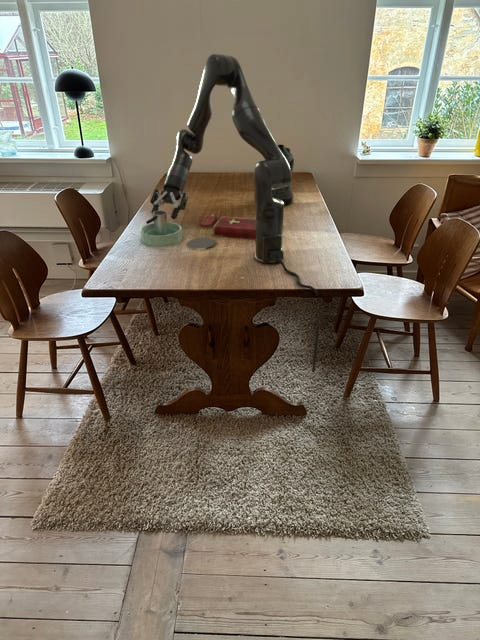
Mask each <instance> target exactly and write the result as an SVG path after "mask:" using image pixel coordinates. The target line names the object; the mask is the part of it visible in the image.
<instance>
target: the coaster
mask: <svg viewBox="0 0 480 640" xmlns="http://www.w3.org/2000/svg"><path fill="white" fill-rule="evenodd" d="M187 245H188V246H189V247H191V248H194V249H205V250H209V249H212V248H214V247H215V245H216V242H215V240H213V239H211V238H206V237H198V238H193V239H190V240H189V241H188V242H187Z"/></svg>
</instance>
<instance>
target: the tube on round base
mask: <svg viewBox="0 0 480 640" xmlns="http://www.w3.org/2000/svg"><path fill="white" fill-rule="evenodd" d="M167 216H168V215H167V212H166V211H165V210H158V211H156V212H153V215H152V217H151V218H149V219H147V220H146V221H145V223H146V225H147V224H150V223H154V230H155V235H156V236H161V235H168V226H167V222H168V217H167Z"/></svg>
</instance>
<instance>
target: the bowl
mask: <svg viewBox="0 0 480 640" xmlns="http://www.w3.org/2000/svg"><path fill="white" fill-rule="evenodd" d="M167 226H168V235H161V236H156V235H155V230H154V222H151V223H149V224H147V223H146V224H145V225H143V226H142V227H141V228H140V238H141V243H143V244H144V245H147V246H152V247H166V246H167V247H168V246H172V245H175V244H177V243H179V242H181V241H182V240H183V227H182V225H180V224H179V223H176V222H171V221H167Z"/></svg>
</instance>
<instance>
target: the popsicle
mask: <svg viewBox="0 0 480 640" xmlns="http://www.w3.org/2000/svg"><path fill="white" fill-rule="evenodd" d="M216 220H217V217H216V216H215V213H212V214H210V215H205V216H204V218H203V219H202V221H201V222H200V224H201V225H200V226H201V227H204V228H206V227H207V228H208V227H211V226H213V224H215V223H216Z"/></svg>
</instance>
